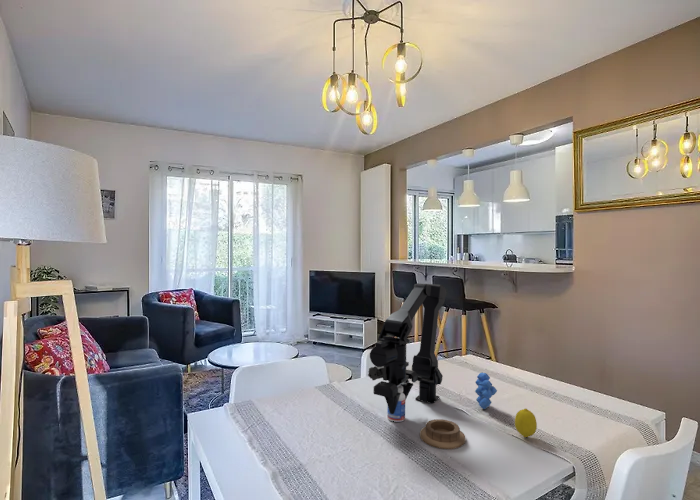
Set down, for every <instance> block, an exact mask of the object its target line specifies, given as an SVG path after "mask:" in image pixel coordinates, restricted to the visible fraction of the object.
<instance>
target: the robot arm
mask: <svg viewBox="0 0 700 500" xmlns="http://www.w3.org/2000/svg"><path fill="white" fill-rule="evenodd" d="M447 294H448V293H447V288H445V286H444V285H443V284H433V283H421V282H419V283H415V284H414V285H413V286H412V290H411V292H410V293H409V294H408V296H407V298H406V299H405V300H404V302H403V303H402V304H401V306H400V307H399V309H398V310H396V311H394V312H392V313H391V314H389V316H387V317H386V319H385V320H384V322H383V325H382V328H381V330H380V333H379V336H378V338H377V342H375V346H373V348H371V350H370V353H369V359H370V362H371V364H372V365H373V366H371V367H370V368H368V371H367V372H368V374H367V375H368V376H367V377H369V378H370V379H371V381H376V380H378V379H382V380H383V381H382V380H381V381H380V382H378V383H376V384H375V385H374V386H373V394H374V395H376V396H381V397H384V398H385V401H386V405H387V408H389V411H390V413H391V414H394V412H395V409H396V406H397V403H398V400H399V397H400V394H401V393H397V392H398V386H399V385H401V386H403V392H402V393H404V394H405V401H406V400H407V398H408V396H409V394H410V391H411V390H412V387H413V386H414V383H416V382H417V381H418V384H419V385H418V395H417V396H416V397H415V398H414V399H415V400H416V401H420V402H424V403H429V404H434V403H436V401H438V400H439V399H440V398H439V397H440V395H437V385H442V381H443V374H442V372H441V371H440V368H439V360H438V358H437V357H436V354H435V349H436V341H437V340H436V339H437V329H438V320H439V319H438V318H439V311H440V310H441V308H442V307H443V306H444V304H445V300H446V298H447ZM421 306H422V307H423V308H424V309H423V319H422V327H421V337H420V346H419V351H418V352H417V353H416V354H414V355H413V357H412V365H411V369H407V367H409V366H410V365H409V364H410V363H409V362H408V361H407V344H408V343H410V339H409V338H408V337H409V335H410V333H411V330H412V328H413V320H414V317H415V315H416V314H417V312H418V311H419V310H420V308H421ZM410 380H411V382H410ZM387 381H388V382H387ZM438 398H439V399H438Z"/></svg>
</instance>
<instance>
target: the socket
mask: <svg viewBox="0 0 700 500" xmlns="http://www.w3.org/2000/svg"><path fill="white" fill-rule="evenodd" d="M419 433H420V434H419V437H420V438H419V439H421V441H422V442H423V443H425V444H426V445H427V446H430V447H433V448H436V449H439V450H440V449H441V450H453V449H454V450H455V449H458V448H462V447H463V446H464V445H465V444H466V435H465V433H464V432H463V431H462V430H461V428H460V426H459V424H457V423H456V422H454V421H451V420H447V419H443V418H442V419H440V418H438V419H437V418H436V419H430V420H428V421H427V422H426V423H425V426H424V427H422V428H421V429H420V432H419Z"/></svg>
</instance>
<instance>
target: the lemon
mask: <svg viewBox="0 0 700 500" xmlns="http://www.w3.org/2000/svg"><path fill="white" fill-rule="evenodd" d="M514 418H515V419H514V426H515V428H516V431H517V433H518V434H519V435H520V436H523V437H524V438H525V437H527V438H528V437H531V436H533V435H535V433H536V431H537V427H538V422H537V417H536V416H535V414H534V413H533V412H532V411H531V410H529V409H528V408H523V409H520V410H518V411H517V412H516V414H515V417H514Z"/></svg>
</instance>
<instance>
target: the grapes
mask: <svg viewBox="0 0 700 500" xmlns="http://www.w3.org/2000/svg"><path fill="white" fill-rule="evenodd" d="M476 377H477V379H476V381H475V384H476V386H477V388H476V389H475V391H474V392H475V394H476V395H477V398H476V402H477V403H478V406H479V407H480V408H481V409H482V408H483V410H486V409H487V408H489V407H490V405H491V404H492V400H491V398H492V397H493V396H494V395H495V394H497V391H498V390H497V388H496V387H495V386H493V383H492V382H491V380H490V379H491V378H490V376H489V374H488V373H486V372H480V373H478V374H477V376H476Z"/></svg>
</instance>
